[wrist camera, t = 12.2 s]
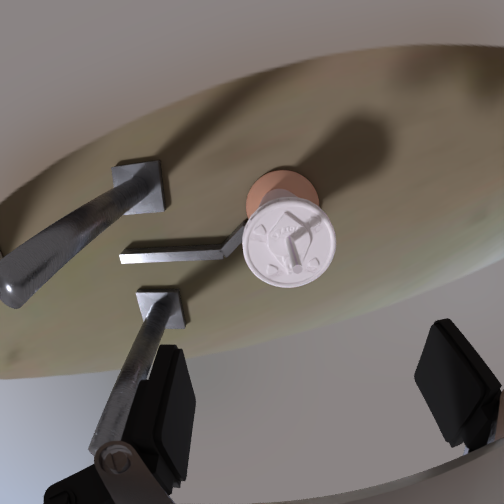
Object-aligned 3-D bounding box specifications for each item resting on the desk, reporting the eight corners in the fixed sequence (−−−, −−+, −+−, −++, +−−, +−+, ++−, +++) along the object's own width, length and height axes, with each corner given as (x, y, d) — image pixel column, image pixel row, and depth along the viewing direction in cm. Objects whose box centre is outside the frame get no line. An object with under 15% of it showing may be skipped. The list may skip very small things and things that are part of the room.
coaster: (248, 240, 31) (248, 242, 31) (244, 171, 28) (243, 172, 28) (317, 237, 31) (318, 239, 31) (317, 168, 28) (319, 169, 28)
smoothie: (308, 169, 28) (353, 212, 15) (315, 233, 30) (356, 316, 17) (239, 180, 28) (227, 232, 15) (251, 243, 31) (250, 333, 18)
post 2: (147, 324, 36) (89, 463, 17) (138, 289, 34) (61, 430, 15) (186, 324, 36) (145, 475, 17) (178, 288, 34) (121, 443, 15)
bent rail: (126, 257, 32) (121, 263, 31) (120, 228, 31) (115, 233, 29) (252, 251, 32) (252, 257, 30) (250, 220, 30) (250, 225, 29)
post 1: (121, 213, 30) (-3, 326, 12) (114, 166, 28) (-36, 240, 10) (166, 209, 30) (60, 335, 12) (160, 159, 28) (24, 231, 10)
